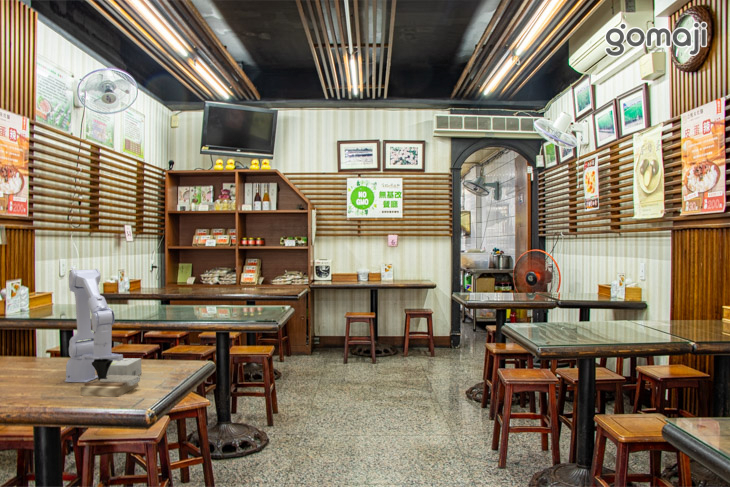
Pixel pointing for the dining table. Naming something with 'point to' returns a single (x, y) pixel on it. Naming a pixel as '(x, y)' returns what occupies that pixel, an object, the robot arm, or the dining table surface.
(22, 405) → the dining table surface
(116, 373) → the light bulb box
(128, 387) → the slide box
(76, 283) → the robot arm
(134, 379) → the cover plate
